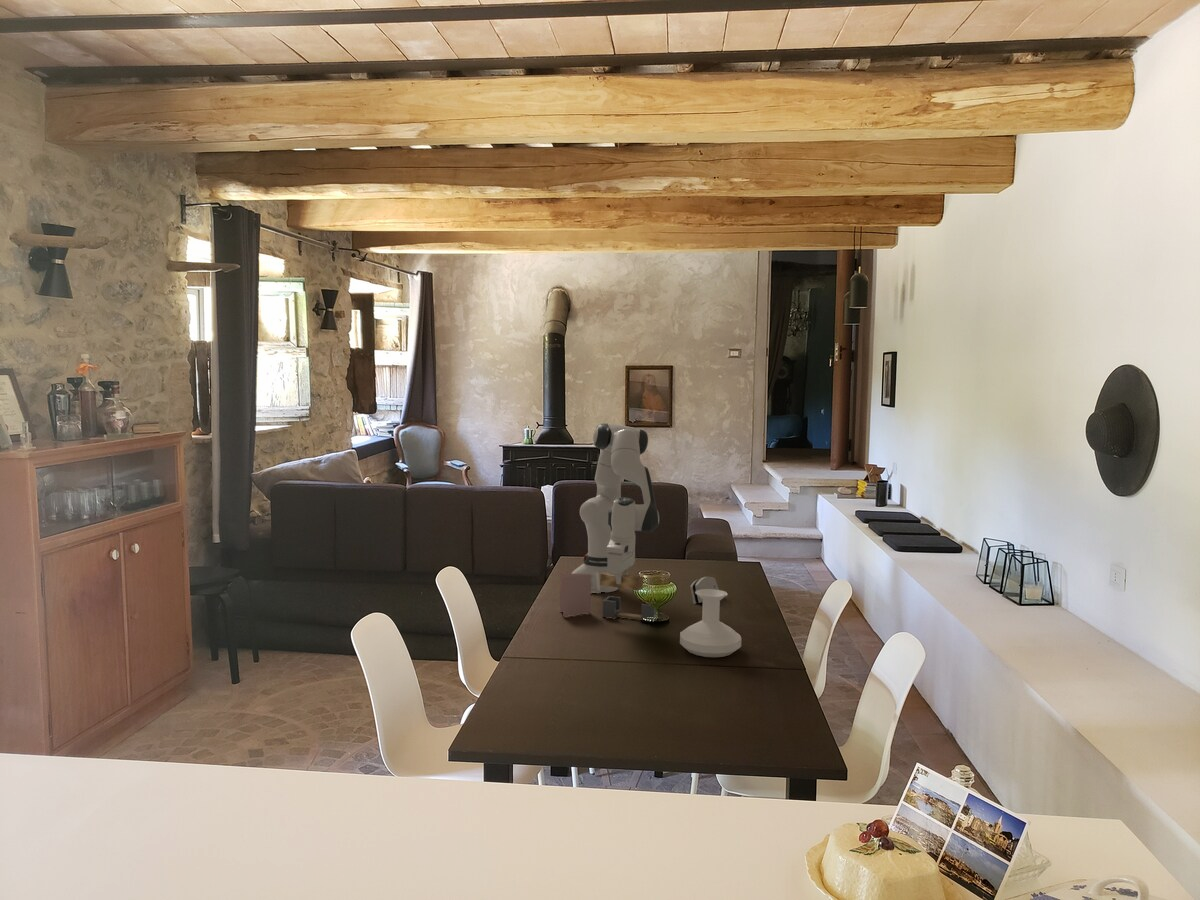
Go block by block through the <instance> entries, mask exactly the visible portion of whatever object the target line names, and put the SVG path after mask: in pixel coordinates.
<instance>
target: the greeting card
mask: <svg viewBox="0 0 1200 900" xmlns="http://www.w3.org/2000/svg"><path fill="white" fill-rule="evenodd" d="M559 575H560V577H559V578H560V579H559V580H560V583H559V585H560V586H559V587H560V589H559V598H560V600H559V603H560V604H559V608H560V609H559V612H560V611H563V613H562V617H563V616H568V615H577V614H583V613H592V612H591V611H592V610H591V608H592V607H591V603H592V602H591V599H592V598H591V596H592V595H591V594H592V593H591V574H571V573H567V572H566V573H564V572H563V573H560V574H559Z"/></svg>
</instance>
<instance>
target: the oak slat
mask: <svg viewBox="0 0 1200 900" xmlns="http://www.w3.org/2000/svg"><path fill="white" fill-rule="evenodd" d="M621 579H622V583H621V584H616V577H615V575H609V573H608V572H603V573H601V574H600V585H604V586H611V587H617V588H618V589H623V590H625V589H626V590H632V591H638V592H639V591H641V590H643V587H644V585H643V583H644V578H643V577H642V576H636V575H628V574H627V575H623V574H622V575H621Z"/></svg>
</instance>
